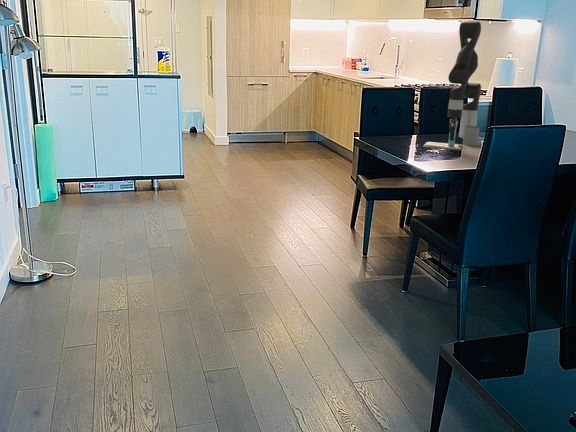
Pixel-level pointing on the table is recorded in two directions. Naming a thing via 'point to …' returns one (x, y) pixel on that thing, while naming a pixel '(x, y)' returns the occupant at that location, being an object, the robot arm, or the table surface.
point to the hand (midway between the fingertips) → (451, 139)
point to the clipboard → (442, 145)
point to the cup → (471, 135)
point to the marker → (452, 142)
